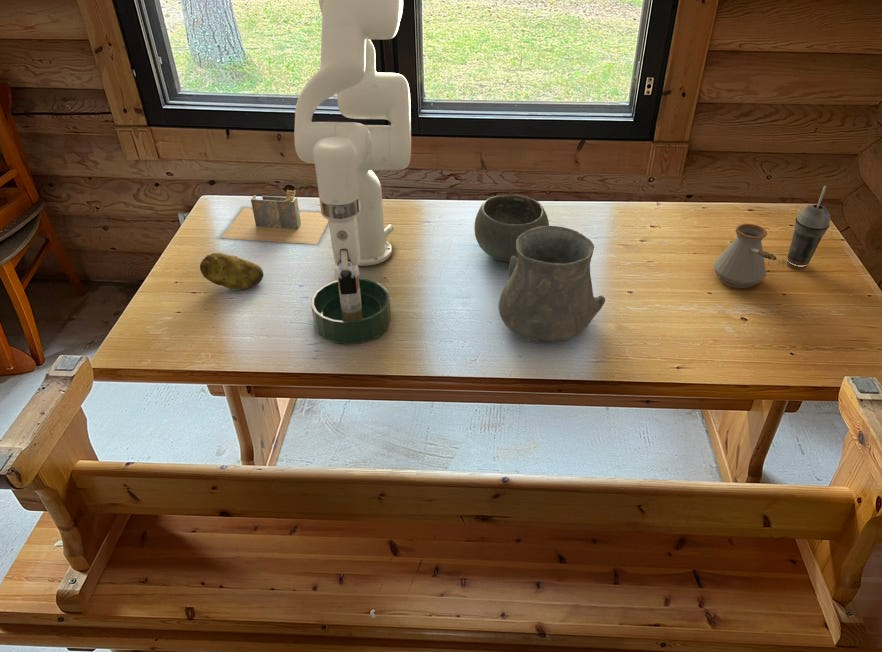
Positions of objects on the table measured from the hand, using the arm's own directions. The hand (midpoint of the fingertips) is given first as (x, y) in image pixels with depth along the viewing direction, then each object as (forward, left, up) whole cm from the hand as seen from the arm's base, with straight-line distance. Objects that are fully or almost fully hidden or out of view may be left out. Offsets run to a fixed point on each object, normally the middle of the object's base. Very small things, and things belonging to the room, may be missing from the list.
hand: (348, 279), depth 142 cm
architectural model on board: (-24, -42, -11) cm, 49 cm away
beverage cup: (-71, +79, -11) cm, 107 cm away
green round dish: (+1, 0, -11) cm, 11 cm away
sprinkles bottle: (+1, 0, -10) cm, 10 cm away
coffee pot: (-53, +70, -11) cm, 89 cm away
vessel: (-19, +37, -11) cm, 43 cm away
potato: (+3, -32, -11) cm, 34 cm away
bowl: (-41, +17, -11) cm, 46 cm away
